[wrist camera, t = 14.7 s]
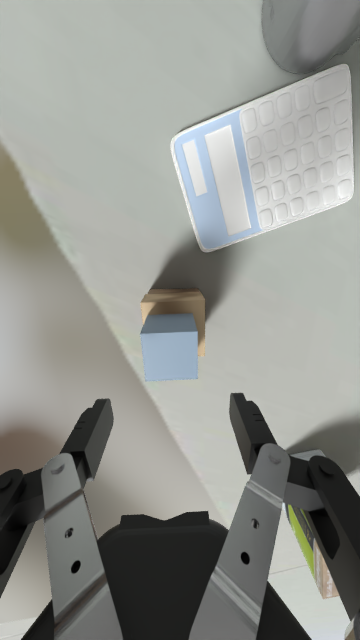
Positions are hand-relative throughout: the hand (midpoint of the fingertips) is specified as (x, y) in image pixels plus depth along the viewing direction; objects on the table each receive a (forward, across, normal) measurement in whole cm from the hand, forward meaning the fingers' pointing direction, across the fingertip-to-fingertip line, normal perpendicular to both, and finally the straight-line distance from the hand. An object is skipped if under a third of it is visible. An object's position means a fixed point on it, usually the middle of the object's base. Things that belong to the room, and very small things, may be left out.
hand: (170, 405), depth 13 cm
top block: (+14, 0, -1) cm, 15 cm away
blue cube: (+10, 0, 0) cm, 11 cm away
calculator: (+19, -12, -18) cm, 29 cm away
